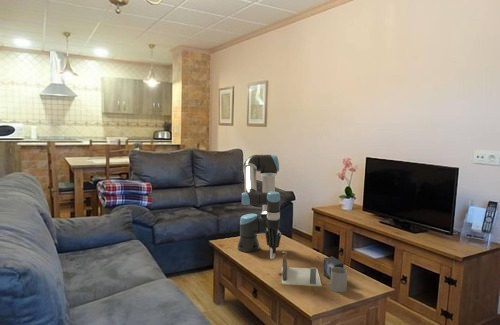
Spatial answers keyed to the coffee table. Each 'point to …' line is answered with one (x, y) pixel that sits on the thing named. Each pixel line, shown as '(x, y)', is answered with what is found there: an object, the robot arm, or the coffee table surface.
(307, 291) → the coffee table surface
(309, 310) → the coffee table surface
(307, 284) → the board
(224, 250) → the coffee table surface
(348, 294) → the coffee table surface
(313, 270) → the post
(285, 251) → the brown wooden plank
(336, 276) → the cup
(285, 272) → the hinge post
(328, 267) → the small box
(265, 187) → the robot arm
